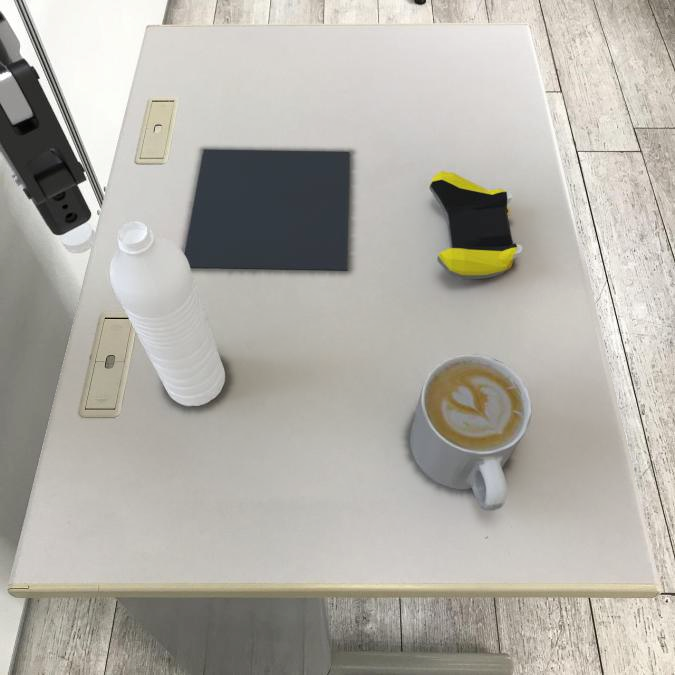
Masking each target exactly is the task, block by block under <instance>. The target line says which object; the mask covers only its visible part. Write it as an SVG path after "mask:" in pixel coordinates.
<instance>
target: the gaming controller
mask: <svg viewBox="0 0 675 675" xmlns="http://www.w3.org/2000/svg"><path fill="white" fill-rule="evenodd" d="M429 190H430V192H431V194H432V196H434V198H435V200H436V201H437V203H438V204H439V205H440V207H441V208H442V211H443V212H444V214H445V216H446V219H447V224H448V233H449V240H450V247H449V248H447V249H444V250H442V251H440V252H439V253H438V254H437V258H436V260H437V262H438V264H439V265H440V266H441V268H443V269H444V270H445V271H446V272H447V273H448V274H449V275H451V276H453V277H456V278H458V279H461V280H480V279H482V280H483V279H485V280H486V279H490V278H493V277H496V276H500V275H502V274H503V275H504V273H506V272H507V271H508V270H510V269H511V268H512V266H513V263H514V260H515V258H517V256H518V255H520V254H521V253H522V250H523V245H521V244H517V243H514V242H513V236H512V230H511V226H510V220H509V216H510V212H511V211H510V209H509V208H508V206H509V204H510V203H511V200H512V199H513V193H512V192H510V191H507V190H505V189H502V188H501V189H499V188H497V189H487V188H485V187H484V186H483V187H482V186H480V185H478V184H477V183H474V182H473V181H470V180H469V179H466V178H465V177H463V176H461V175H459V174H456V173H455V172H453V171H452V172H451V171H443V170H440V171H439V172H438V173H436V174H434V175H433V177H432V180H431V182H430V185H429Z"/></svg>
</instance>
